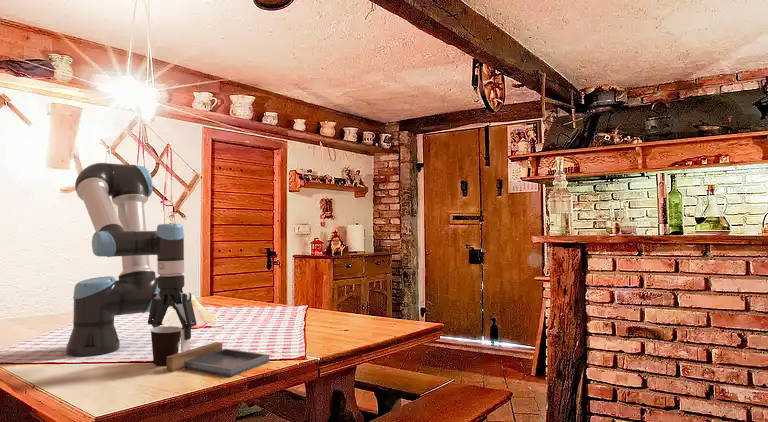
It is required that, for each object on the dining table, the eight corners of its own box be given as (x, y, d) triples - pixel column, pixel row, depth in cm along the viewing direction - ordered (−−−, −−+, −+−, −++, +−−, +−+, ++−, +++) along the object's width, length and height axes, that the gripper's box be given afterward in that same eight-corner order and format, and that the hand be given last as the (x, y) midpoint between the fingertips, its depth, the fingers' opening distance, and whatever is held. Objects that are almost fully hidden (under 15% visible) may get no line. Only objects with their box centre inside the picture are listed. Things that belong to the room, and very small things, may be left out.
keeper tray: (184, 369, 151) (184, 361, 151) (225, 355, 166) (225, 348, 166) (230, 377, 144) (230, 369, 144) (269, 362, 159) (269, 354, 159)
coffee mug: (169, 368, 152) (170, 333, 152) (143, 365, 153) (144, 331, 153) (192, 357, 163) (193, 325, 163) (167, 355, 165) (168, 323, 165)
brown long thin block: (166, 370, 149) (166, 356, 149) (216, 354, 167) (216, 341, 167) (172, 371, 148) (172, 357, 148) (222, 355, 166) (222, 342, 166)
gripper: (133, 275, 160) (134, 349, 159) (189, 276, 150) (191, 354, 149) (154, 273, 166) (155, 344, 166) (208, 274, 157) (210, 349, 156)
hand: (172, 349), depth 158 cm, fingers open, 10 cm apart
